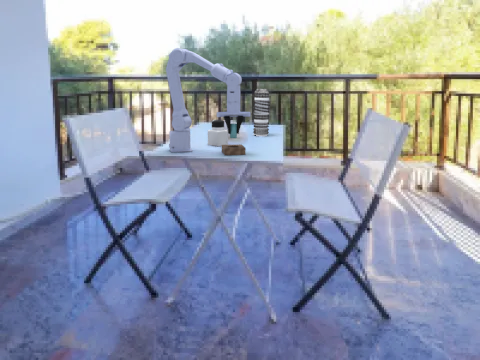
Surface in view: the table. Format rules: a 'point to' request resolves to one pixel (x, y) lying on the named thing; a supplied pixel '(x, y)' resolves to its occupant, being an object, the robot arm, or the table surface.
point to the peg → (233, 130)
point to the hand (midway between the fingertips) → (233, 133)
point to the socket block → (233, 149)
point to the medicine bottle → (217, 134)
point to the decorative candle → (261, 112)
